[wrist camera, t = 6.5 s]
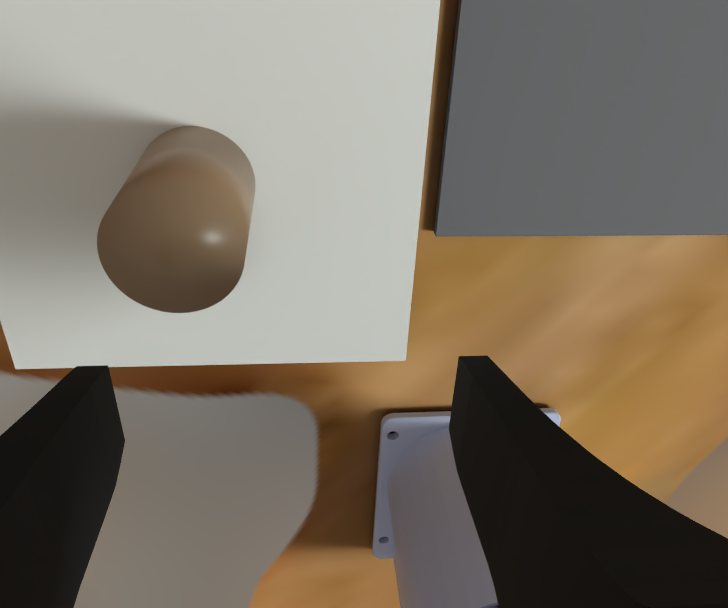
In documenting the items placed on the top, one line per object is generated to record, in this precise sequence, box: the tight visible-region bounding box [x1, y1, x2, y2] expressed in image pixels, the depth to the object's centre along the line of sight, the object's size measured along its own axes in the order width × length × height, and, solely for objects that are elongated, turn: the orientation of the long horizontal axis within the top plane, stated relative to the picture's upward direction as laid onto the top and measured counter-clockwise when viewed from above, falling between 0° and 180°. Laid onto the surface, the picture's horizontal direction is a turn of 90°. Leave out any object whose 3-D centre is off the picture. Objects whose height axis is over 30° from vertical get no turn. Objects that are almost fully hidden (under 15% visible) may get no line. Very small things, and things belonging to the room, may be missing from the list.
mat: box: [434, 0, 728, 236], centre depth 20 cm, size 13×13×1 cm
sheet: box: [0, 0, 440, 369], centre depth 15 cm, size 12×12×4 cm
